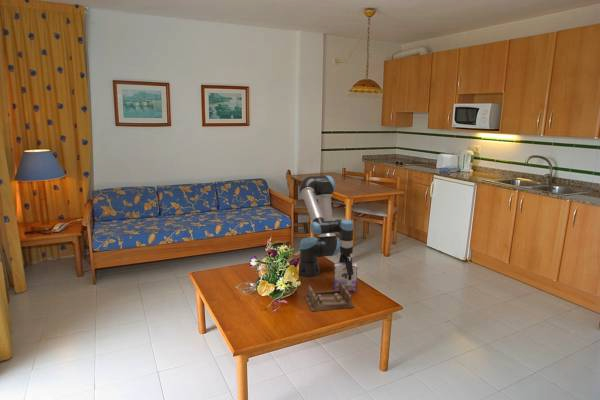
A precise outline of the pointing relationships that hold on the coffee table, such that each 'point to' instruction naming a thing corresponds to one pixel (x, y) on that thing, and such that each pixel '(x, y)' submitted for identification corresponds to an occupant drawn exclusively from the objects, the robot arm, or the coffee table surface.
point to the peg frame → (329, 299)
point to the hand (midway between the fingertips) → (345, 280)
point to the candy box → (344, 276)
